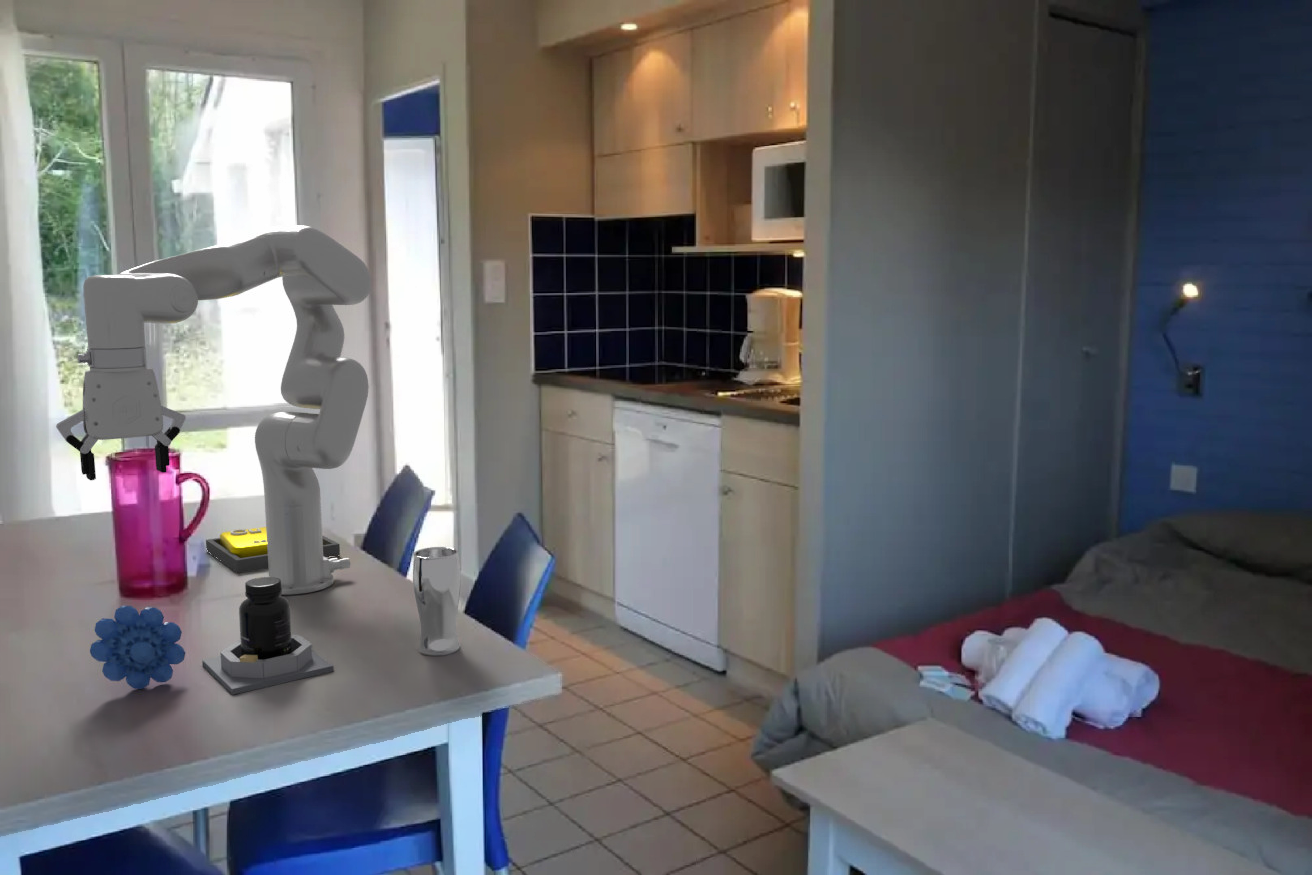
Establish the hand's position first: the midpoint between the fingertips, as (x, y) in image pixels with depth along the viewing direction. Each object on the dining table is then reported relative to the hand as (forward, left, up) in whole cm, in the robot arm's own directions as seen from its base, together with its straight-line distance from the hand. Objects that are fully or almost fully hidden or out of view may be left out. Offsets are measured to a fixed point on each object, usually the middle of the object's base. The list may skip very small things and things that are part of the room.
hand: (126, 475), depth 160 cm
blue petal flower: (+4, +20, -26) cm, 33 cm away
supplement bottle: (-12, +22, -26) cm, 36 cm away
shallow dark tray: (-34, -41, -26) cm, 59 cm away
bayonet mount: (-12, +22, -26) cm, 36 cm away
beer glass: (-35, +30, -26) cm, 53 cm away
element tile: (-33, -42, -27) cm, 60 cm away
